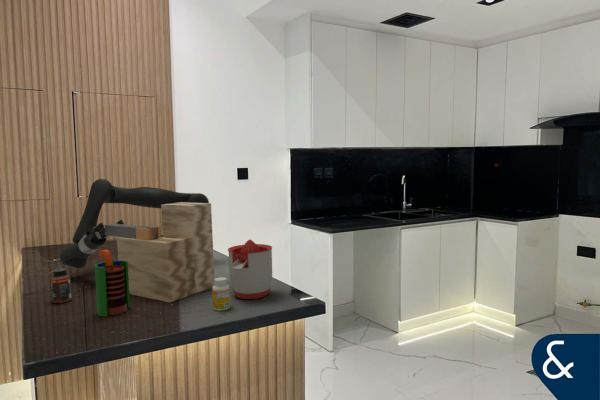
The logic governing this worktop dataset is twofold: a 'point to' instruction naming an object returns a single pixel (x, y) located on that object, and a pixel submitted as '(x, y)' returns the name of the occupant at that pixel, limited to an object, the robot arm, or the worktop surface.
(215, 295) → the supplement bottle
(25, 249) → the worktop surface
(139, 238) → the grey and tan bar
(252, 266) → the citrus juicer
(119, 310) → the motor
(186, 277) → the stand
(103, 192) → the robot arm
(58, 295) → the supplement bottle
